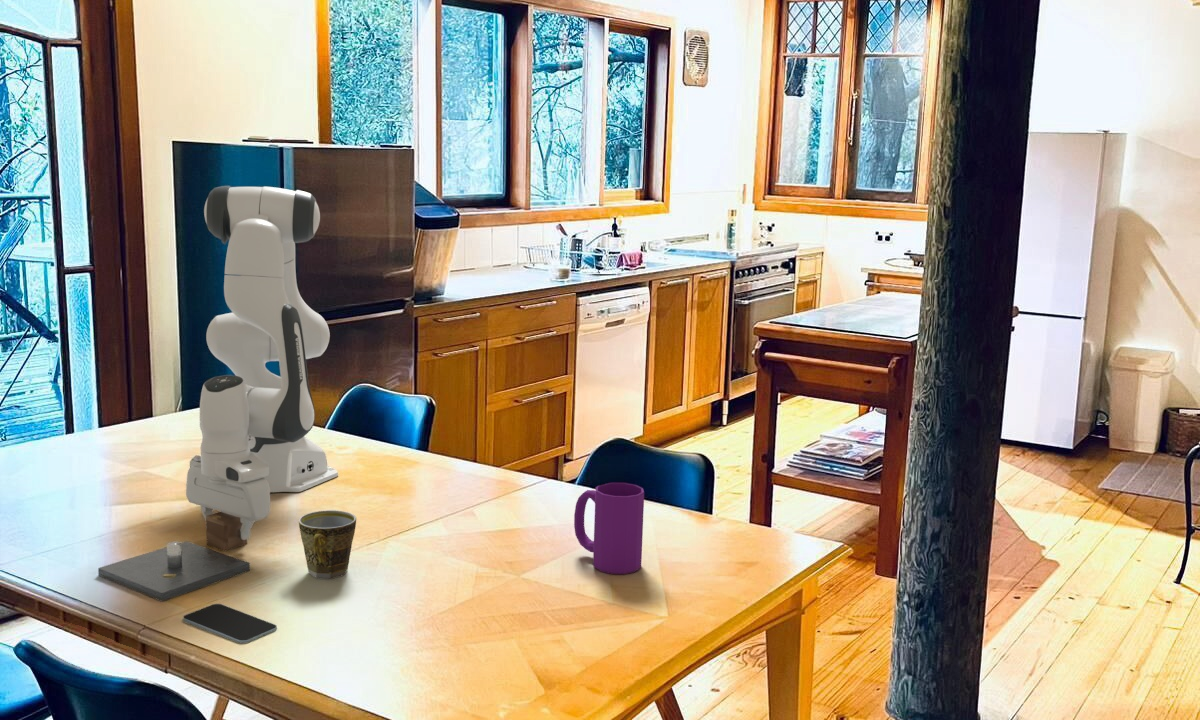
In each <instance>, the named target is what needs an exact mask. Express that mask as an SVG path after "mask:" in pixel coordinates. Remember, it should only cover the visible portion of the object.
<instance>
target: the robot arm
mask: <svg viewBox="0 0 1200 720" xmlns="http://www.w3.org/2000/svg"><path fill="white" fill-rule="evenodd" d="M203 213H204V214H203V215H204V220H205V223H206V227H207V229H208V231H209V233H211V234H212V236H213V237H215V238H218V239H219V240H221V243H222V244H224V245H226V244H227V242H228V244H227V245H228V246H227V248H226V249H227V251H226V255H225V256H226V257H225V265H224V278H223V279H224V280H223V281H224V282H223V296H224V300H225V303H226V305H227V308H229V310H230V311H231V312H229V313H227V312H226V313H224V314H218V315H215V316H214V317H213V319H211V320H210V323H209V324H208V327H207V329H206V335H205V336H206V337H205V338H206V339H205V340H206V344H207V346H208V347H207V348H208V349H209V351H210V353H211V354H212V355H213V356H214V357H215V358H216V359H217V360H219V361H220V362H221V363H223V364H224V365H226V366H227V367H228V368H229V369H230V370H231V372H232V373H233V374H234V375H233V374H224V375H223V374H222V375H219V376H218V375H217V376H214V377H211V378H209V379H207V380H206V381H204V383H203V385H202V389H201V392H200V400H199V429H200V431H201V435H202V436H201V438H202V439H201V443H200V455H194V456H193V457H191V460H189V468H188V470H187V474H186V483H185V484H186V485H185V496H186V499H187V501H188V503H191V504H194V505H197V506H200V512H201V514H202V517H203V519H204V520H205V521H206V516H207V515H211V514H214V513H215V512H214V511H217V512H223V513H227V514H230V515H233V516H236V517H240V522H241V523H243V524H242V527H241V529H239V530H237V533H238V538H239V539H242V540H246V539H247V540H249V539H250V538H251V529H252V527H253V525H254V523H255V522H258V521H260V520H263V519H264V520H265V519H266V518H267V517H268V516H269V514H270V511H271V493H281V492H286V493H287V492H289V493H299V492H303V491H305V490H307V489H310V488H312V487H314V486H317V485H320V484H322V483H325V482H327V481H329V480H332V479H335V478H337V477H338V476H339V472H338V470H337V469H336V468H334V467H331V466H328V459H327V454H326V451H325V450H324V449H323V448H322V447H321V446H319V445H318V444H316V443H315V442H313V441H312V440H310V439H309V438H307V434H309V433H310V431H311V430H312V429H313V428H314V424H315V420H316V419H315V417H316V412H315V411H316V410H315V404H314V401H313V398H312V397H313V396H312V394H311V390H310V389H311V388H310V383H309V373H308V367H307V366H308V365H307V360H309V359H312V358H313V359H314V358H318V357H321V356H322V355H324V353H325V351H326V350H327V348H328V345H329V343H330V337H331V335H330V334H331V333H330V329H329V325H328V323H327V321H326V320H325V318H324V317H323V316H322V315H321V314H319V312H316V311H315V310H314V309H312V308H311V307H310V306H309V305H308V304H307V303H306V302H305V301H304V299H303V298H302V296H301V294H300V291H299V288H298V283H297V273H296V244H300V243H307V242H309V241H310V240H311V239H313V238H314V237H315V235H316V232H317V230H318V229H319V225H320V221H321V213H320V208H319V205H318V203H317V199H316V198H315V196H313V194H312V193H310V192H307V191H303V190H300V189H296V190H292V189H288V188H283V187H282V188H281V187H275V186H274V187H273V186H265V185H264V186H231V185H221V186H217V187H213V189H212V190H210V192H209V194H208V196H207V198H206V201H205V204H204V208H203ZM269 362H279V364H278V365H279V373H280V375H277V374H275V373H273V372H271V371H270V370H269V369H268V368H267V367H266V363H269Z"/></svg>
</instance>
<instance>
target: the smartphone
mask: <svg viewBox="0 0 1200 720" xmlns="http://www.w3.org/2000/svg"><path fill="white" fill-rule="evenodd" d="M182 621H184V623H185V624H188V625H190V626H193V627H195V628H199V629H201V630H204V631H206V632H209V633H211V634H214V635H216V636H219V637H222V638H225V639H227V640H230V641H233V642H234V643H237V644H248V643H251V642H253V641H255V640H258V639H260V638H261V637H262V636H263V637H265V636H266V635H269V634H272V633H274V632H275V631H277V629H278V626H277V625H276V624H274V623H273V622H270V621H266V620H264V619H263V618H259V617H256V616H253V615H252V614H249V613H246V612H243V611H241V610H238V609H235V608H232V607H230V606H227V605H224V604H222V603H212V604H210V605H206V606H205V607H202V608H200V609H197V610H195V611H193V612H189V613H186V614H185V615H183V617H182Z"/></svg>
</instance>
